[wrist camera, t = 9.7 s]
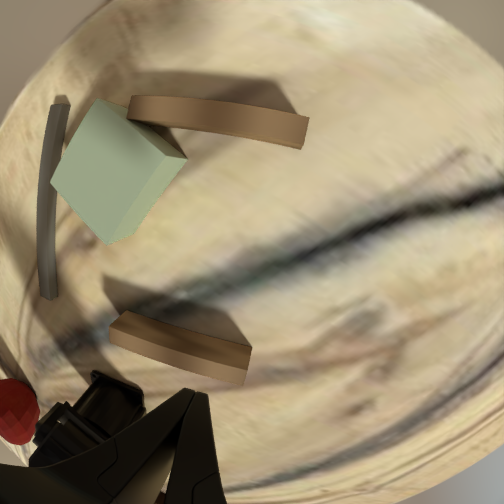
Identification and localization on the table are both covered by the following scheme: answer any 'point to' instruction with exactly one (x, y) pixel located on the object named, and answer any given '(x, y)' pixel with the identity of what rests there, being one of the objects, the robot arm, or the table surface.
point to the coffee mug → (160, 498)
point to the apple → (17, 411)
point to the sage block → (114, 171)
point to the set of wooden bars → (130, 324)
